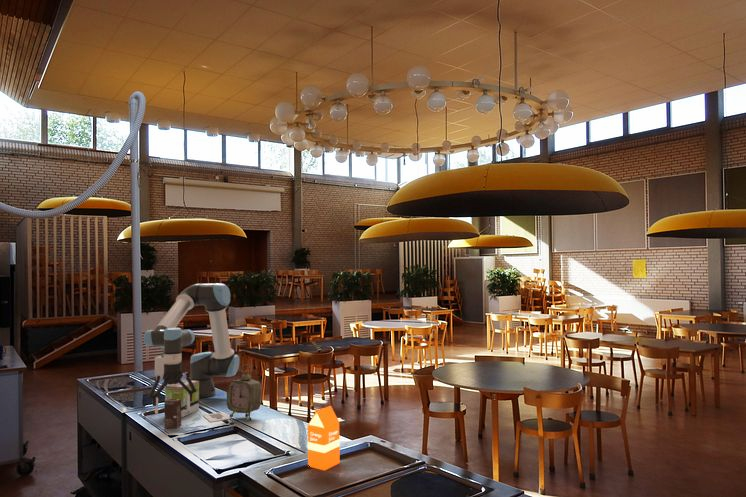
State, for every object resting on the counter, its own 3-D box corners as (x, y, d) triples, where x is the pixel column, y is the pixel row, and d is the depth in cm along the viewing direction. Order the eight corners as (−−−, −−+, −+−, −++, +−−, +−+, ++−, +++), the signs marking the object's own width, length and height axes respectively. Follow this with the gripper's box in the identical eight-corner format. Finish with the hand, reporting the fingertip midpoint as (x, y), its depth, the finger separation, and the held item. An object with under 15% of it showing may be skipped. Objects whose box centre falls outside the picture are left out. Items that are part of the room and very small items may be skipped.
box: (163, 428, 243) (163, 400, 244) (169, 425, 248) (169, 398, 248) (176, 428, 242) (176, 401, 243) (181, 425, 247) (181, 398, 247)
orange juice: (307, 466, 196) (307, 409, 196) (323, 458, 203) (322, 404, 203) (324, 470, 191) (324, 412, 192) (340, 462, 199) (339, 407, 199)
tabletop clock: (225, 417, 257) (228, 363, 258) (238, 413, 265) (240, 361, 266) (250, 422, 250) (252, 367, 252) (262, 418, 258) (265, 364, 260)
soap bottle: (163, 374, 364) (163, 345, 365) (174, 375, 361) (174, 346, 362) (154, 377, 356) (154, 347, 357) (165, 377, 353) (165, 348, 354)
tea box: (183, 418, 259) (183, 386, 260) (164, 417, 261) (164, 385, 262) (199, 409, 274) (199, 379, 275) (181, 408, 276) (181, 379, 277)
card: (223, 412, 268) (223, 411, 268) (231, 418, 257) (231, 417, 257) (202, 415, 263) (202, 414, 263) (210, 422, 252) (210, 421, 252)
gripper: (144, 367, 236) (144, 417, 235) (203, 361, 249) (203, 408, 249) (141, 364, 243) (141, 413, 242) (198, 359, 256) (198, 405, 255)
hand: (172, 411), depth 245 cm, fingers open, 13 cm apart
